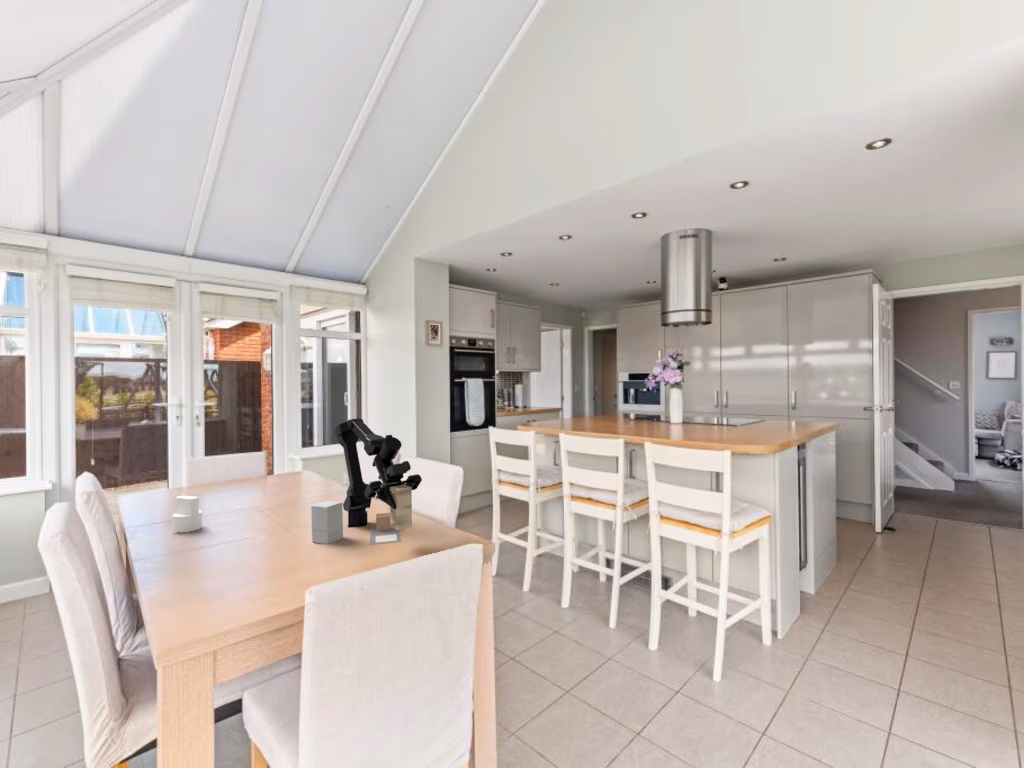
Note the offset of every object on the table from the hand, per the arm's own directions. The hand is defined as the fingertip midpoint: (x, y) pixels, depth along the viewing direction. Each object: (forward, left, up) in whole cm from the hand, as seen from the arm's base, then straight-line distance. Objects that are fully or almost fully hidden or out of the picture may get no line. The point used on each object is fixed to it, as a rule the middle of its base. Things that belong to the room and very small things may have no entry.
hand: (403, 507), depth 155 cm
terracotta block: (-6, +22, -13) cm, 26 cm away
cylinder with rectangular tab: (-77, +46, -14) cm, 91 cm away
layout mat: (-6, +16, -13) cm, 21 cm away
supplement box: (-25, +16, -14) cm, 32 cm away
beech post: (-1, +1, -7) cm, 7 cm away
